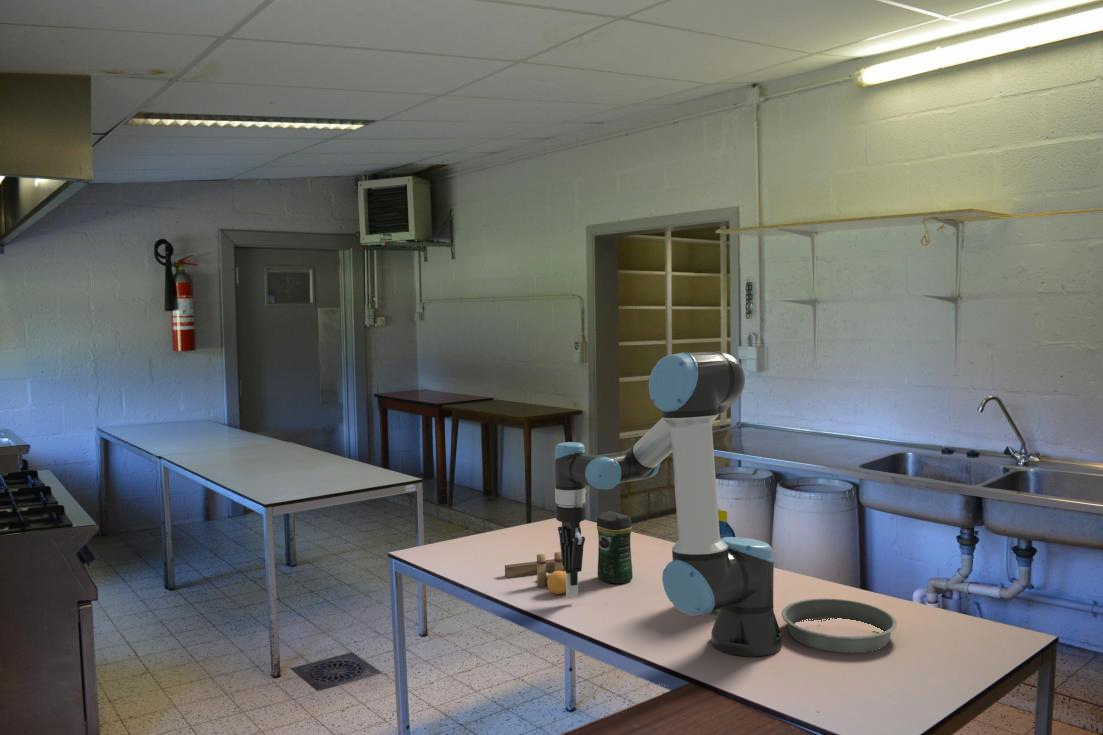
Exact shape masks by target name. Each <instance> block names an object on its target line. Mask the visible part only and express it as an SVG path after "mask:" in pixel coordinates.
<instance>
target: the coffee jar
mask: <svg viewBox="0 0 1103 735" xmlns="http://www.w3.org/2000/svg"><path fill="white" fill-rule="evenodd" d="M632 529H633V526H632V517H631V516H629V515H628V514H627V515H626V514H622V513H618V512H614V511H612V510H609V511H603V512H600V513H599V514H598V515H597V518H596V530H597V534H598V535H597V536H598V550H597V551H598V553H597V554H598V555H597V558H598V559H597V578H598V579H600V580H602V581H604V582H606V583H611V584H626V583H628V582H630V581H632V579H633V564H632V549H631V534H632Z"/></svg>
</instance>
